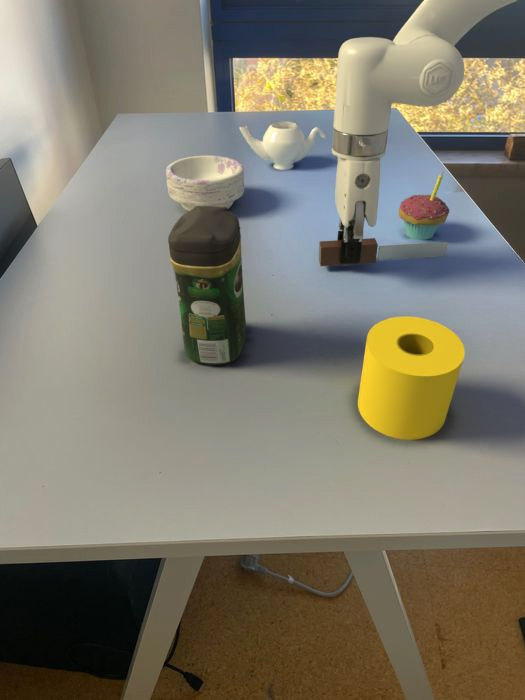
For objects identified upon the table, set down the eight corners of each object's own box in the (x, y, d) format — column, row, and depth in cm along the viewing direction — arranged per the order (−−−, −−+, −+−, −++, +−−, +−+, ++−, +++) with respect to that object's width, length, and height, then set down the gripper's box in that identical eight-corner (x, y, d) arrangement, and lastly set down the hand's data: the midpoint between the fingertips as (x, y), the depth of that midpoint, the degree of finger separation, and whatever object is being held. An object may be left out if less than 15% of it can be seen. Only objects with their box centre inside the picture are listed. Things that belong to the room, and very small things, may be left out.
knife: (320, 266, 83) (321, 247, 81) (318, 259, 85) (319, 241, 83) (446, 259, 83) (450, 240, 81) (442, 252, 85) (446, 233, 83)
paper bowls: (257, 197, 108) (256, 159, 103) (223, 227, 97) (220, 186, 92) (194, 186, 113) (190, 149, 108) (155, 214, 103) (149, 174, 98)
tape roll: (355, 433, 57) (365, 370, 51) (359, 374, 65) (367, 312, 59) (449, 445, 56) (470, 381, 50) (441, 383, 63) (459, 321, 57)
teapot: (328, 172, 118) (330, 130, 113) (241, 175, 118) (239, 132, 112) (322, 158, 126) (324, 117, 120) (240, 160, 125) (239, 120, 120)
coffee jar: (196, 322, 74) (181, 198, 62) (250, 326, 73) (245, 200, 61) (177, 366, 67) (156, 234, 55) (238, 371, 66) (229, 238, 54)
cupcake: (448, 230, 95) (463, 165, 87) (435, 249, 89) (450, 182, 82) (403, 220, 98) (413, 157, 91) (387, 238, 93) (397, 172, 85)
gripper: (400, 160, 66) (381, 283, 78) (374, 123, 78) (361, 234, 90) (341, 162, 66) (331, 285, 77) (324, 125, 78) (318, 236, 90)
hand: (347, 257), depth 84 cm, fingers closed on knife, 2 cm apart
